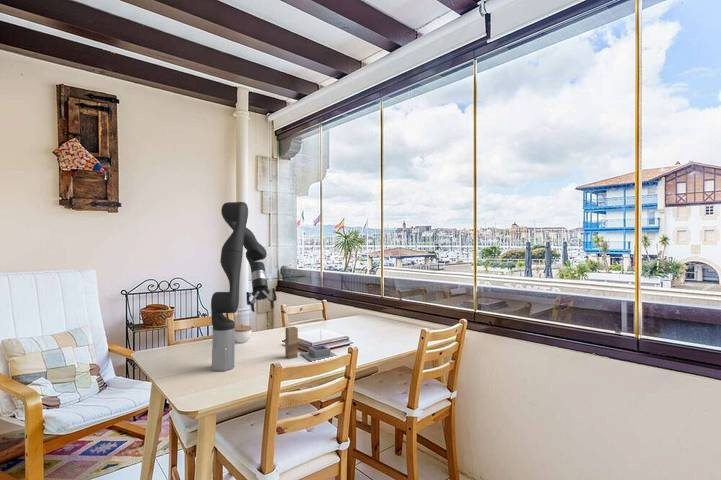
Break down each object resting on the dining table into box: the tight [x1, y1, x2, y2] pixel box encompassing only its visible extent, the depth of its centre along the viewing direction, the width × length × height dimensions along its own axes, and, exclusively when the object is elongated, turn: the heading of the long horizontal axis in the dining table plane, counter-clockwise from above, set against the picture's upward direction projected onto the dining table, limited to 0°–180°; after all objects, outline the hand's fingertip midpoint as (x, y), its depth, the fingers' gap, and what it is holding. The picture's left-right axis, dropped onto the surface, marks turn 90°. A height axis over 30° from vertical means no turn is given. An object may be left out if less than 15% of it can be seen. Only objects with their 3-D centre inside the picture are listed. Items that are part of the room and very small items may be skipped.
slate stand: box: [299, 344, 338, 363], centre depth 189 cm, size 14×14×4 cm
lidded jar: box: [235, 323, 253, 344], centre depth 214 cm, size 11×11×9 cm
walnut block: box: [284, 326, 299, 360], centre depth 187 cm, size 4×4×14 cm
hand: (263, 310), depth 188 cm, fingers open, 8 cm apart
